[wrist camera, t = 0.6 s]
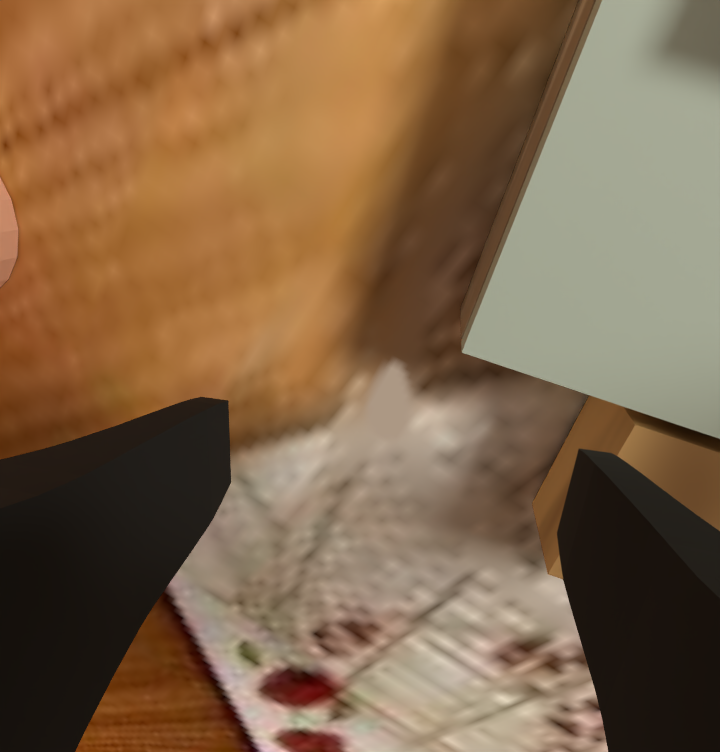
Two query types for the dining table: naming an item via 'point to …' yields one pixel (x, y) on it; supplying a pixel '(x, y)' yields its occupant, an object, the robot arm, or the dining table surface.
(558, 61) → the toolbox
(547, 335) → the lid
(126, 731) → the dining table surface
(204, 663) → the dining table surface
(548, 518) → the tan block
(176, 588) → the dining table surface
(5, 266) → the salt shaker
